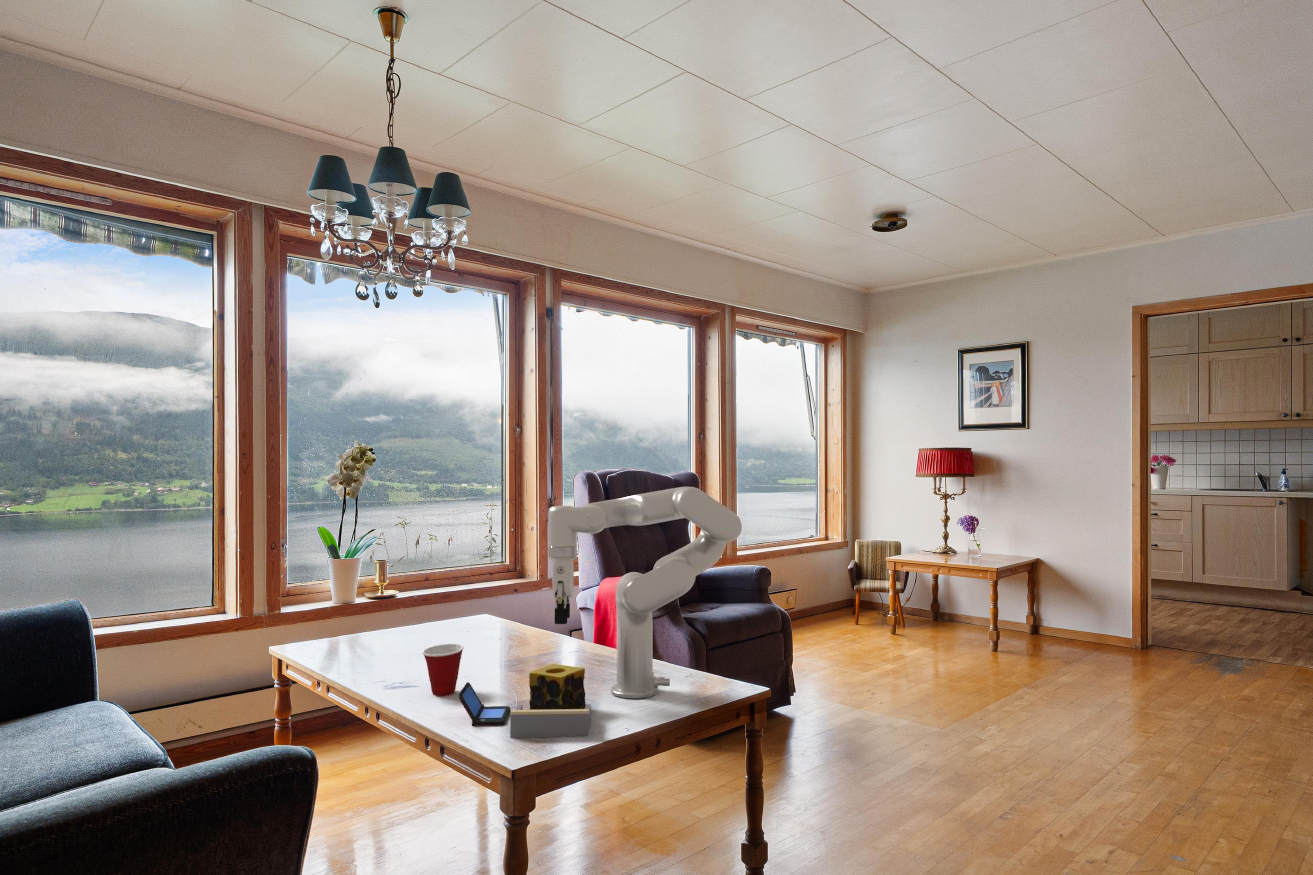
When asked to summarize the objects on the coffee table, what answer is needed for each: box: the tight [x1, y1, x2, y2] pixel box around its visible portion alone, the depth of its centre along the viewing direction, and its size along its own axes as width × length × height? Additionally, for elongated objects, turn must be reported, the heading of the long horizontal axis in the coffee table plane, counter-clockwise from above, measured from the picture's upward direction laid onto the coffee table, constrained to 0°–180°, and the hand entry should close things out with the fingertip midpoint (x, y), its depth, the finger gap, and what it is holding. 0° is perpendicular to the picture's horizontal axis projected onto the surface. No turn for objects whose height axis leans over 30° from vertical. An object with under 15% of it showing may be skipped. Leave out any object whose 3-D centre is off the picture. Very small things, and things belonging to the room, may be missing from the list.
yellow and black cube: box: [528, 663, 587, 710], centre depth 189 cm, size 10×10×10 cm
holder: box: [509, 703, 592, 739], centre depth 175 cm, size 17×10×6 cm, turn 92°
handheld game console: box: [457, 681, 511, 727], centre depth 183 cm, size 12×11×7 cm
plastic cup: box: [421, 643, 465, 697], centre depth 204 cm, size 11×11×12 cm
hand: (562, 620), depth 201 cm, fingers open, 7 cm apart
